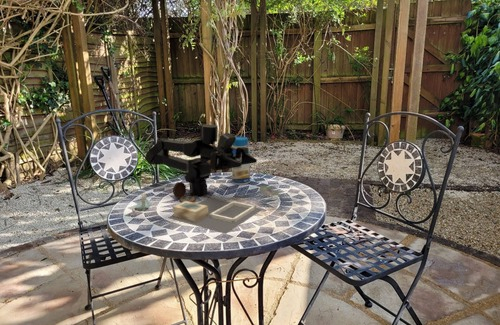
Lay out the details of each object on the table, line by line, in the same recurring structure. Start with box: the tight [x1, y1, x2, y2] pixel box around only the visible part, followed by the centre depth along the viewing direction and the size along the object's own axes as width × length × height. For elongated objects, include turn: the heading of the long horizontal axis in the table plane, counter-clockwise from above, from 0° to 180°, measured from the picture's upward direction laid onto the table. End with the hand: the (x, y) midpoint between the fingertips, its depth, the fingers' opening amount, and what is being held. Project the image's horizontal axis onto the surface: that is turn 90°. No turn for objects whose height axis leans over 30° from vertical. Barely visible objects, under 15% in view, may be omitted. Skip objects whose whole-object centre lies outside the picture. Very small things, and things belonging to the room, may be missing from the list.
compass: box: [172, 181, 197, 203], centre depth 130 cm, size 8×8×7 cm
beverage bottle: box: [231, 136, 251, 186], centre depth 150 cm, size 8×8×20 cm
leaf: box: [259, 185, 279, 199], centre depth 134 cm, size 20×8×1 cm, turn 2°
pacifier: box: [131, 192, 151, 213], centre depth 123 cm, size 7×6×6 cm
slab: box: [172, 201, 208, 222], centre depth 114 cm, size 10×6×4 cm, turn 58°
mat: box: [167, 197, 264, 234], centre depth 117 cm, size 24×22×2 cm
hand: (249, 162), depth 119 cm, fingers open, 9 cm apart
